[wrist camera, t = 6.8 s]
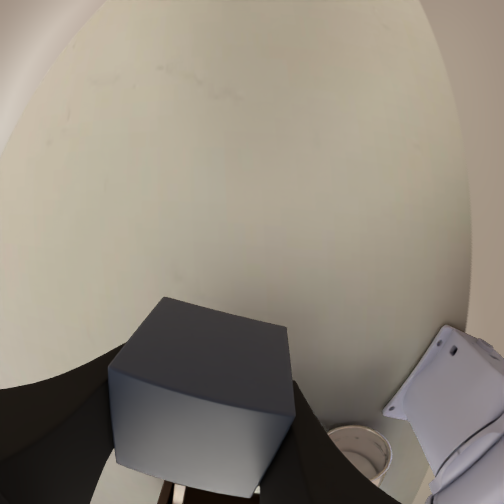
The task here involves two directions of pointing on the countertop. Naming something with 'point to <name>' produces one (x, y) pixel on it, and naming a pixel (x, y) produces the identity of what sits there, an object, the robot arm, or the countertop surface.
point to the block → (201, 398)
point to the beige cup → (364, 450)
